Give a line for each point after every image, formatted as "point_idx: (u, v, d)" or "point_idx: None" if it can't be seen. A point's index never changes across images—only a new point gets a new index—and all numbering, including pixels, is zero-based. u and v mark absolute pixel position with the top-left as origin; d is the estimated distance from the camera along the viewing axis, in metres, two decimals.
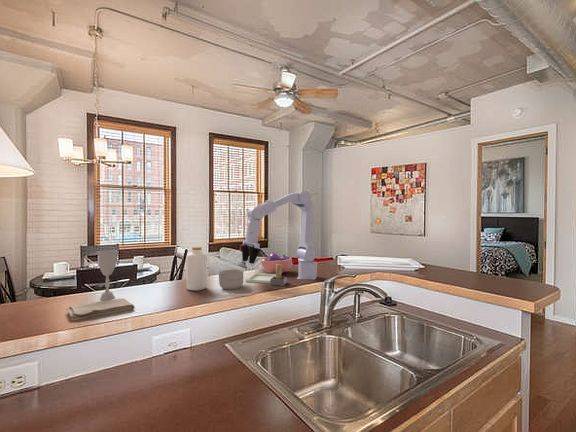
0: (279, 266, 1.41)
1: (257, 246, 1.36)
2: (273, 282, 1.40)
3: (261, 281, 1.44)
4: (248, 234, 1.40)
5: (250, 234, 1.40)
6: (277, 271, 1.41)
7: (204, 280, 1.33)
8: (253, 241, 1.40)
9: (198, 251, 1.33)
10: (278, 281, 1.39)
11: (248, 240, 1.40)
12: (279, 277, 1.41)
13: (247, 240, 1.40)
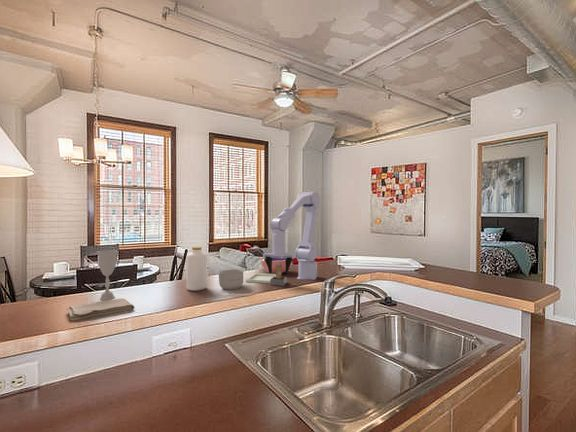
0: (279, 266, 1.41)
1: (294, 256, 1.41)
2: (273, 282, 1.40)
3: (261, 281, 1.44)
4: (280, 247, 1.40)
5: (282, 246, 1.40)
6: (277, 271, 1.41)
7: (204, 280, 1.33)
8: (284, 252, 1.41)
9: (198, 251, 1.33)
10: (278, 281, 1.39)
11: (281, 252, 1.40)
12: (279, 277, 1.41)
13: (280, 253, 1.40)
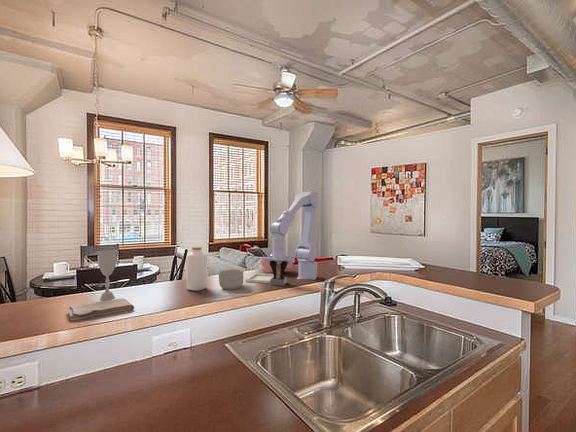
0: (279, 266, 1.41)
1: (294, 260, 1.41)
2: (273, 282, 1.40)
3: (261, 281, 1.44)
4: (280, 251, 1.40)
5: (282, 250, 1.40)
6: (277, 271, 1.41)
7: (204, 280, 1.33)
8: (284, 256, 1.41)
9: (198, 251, 1.33)
10: (278, 281, 1.39)
11: (281, 257, 1.40)
12: (279, 277, 1.41)
13: (280, 257, 1.40)
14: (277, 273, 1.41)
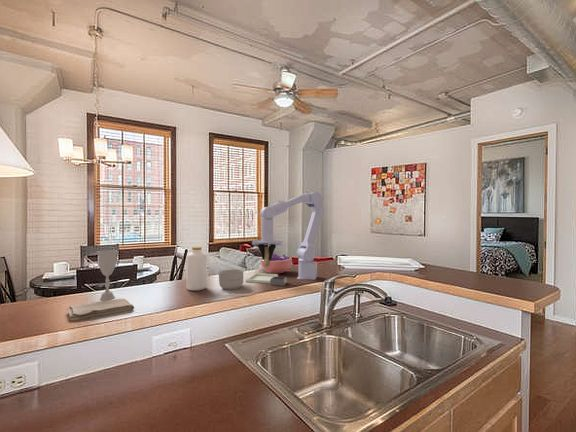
0: (268, 249, 1.48)
1: None
2: (273, 282, 1.40)
3: (261, 281, 1.44)
4: (268, 234, 1.46)
5: (270, 234, 1.47)
6: (266, 254, 1.48)
7: (204, 280, 1.33)
8: (272, 239, 1.48)
9: (198, 251, 1.33)
10: (278, 281, 1.39)
11: (269, 239, 1.47)
12: (268, 259, 1.48)
13: (268, 240, 1.46)
14: (266, 255, 1.48)
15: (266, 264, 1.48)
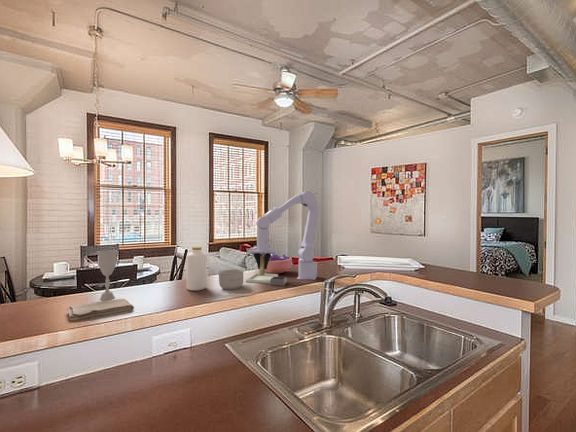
0: (263, 258, 1.51)
1: None
2: (273, 282, 1.40)
3: (261, 281, 1.44)
4: (263, 243, 1.49)
5: (265, 243, 1.50)
6: (261, 263, 1.51)
7: (204, 280, 1.33)
8: (268, 249, 1.51)
9: (198, 251, 1.33)
10: (278, 281, 1.39)
11: (264, 249, 1.50)
12: (263, 268, 1.51)
13: (263, 249, 1.49)
14: (261, 264, 1.51)
15: (261, 273, 1.51)
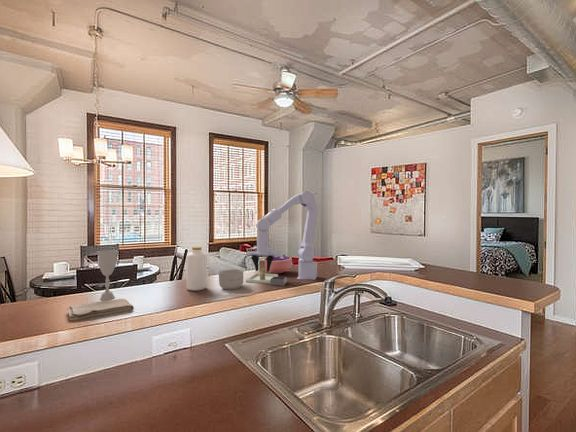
0: (262, 262, 1.51)
1: None
2: (273, 282, 1.40)
3: (261, 281, 1.44)
4: (263, 246, 1.49)
5: (265, 245, 1.50)
6: (261, 267, 1.51)
7: (204, 280, 1.33)
8: (268, 251, 1.51)
9: (198, 251, 1.33)
10: (278, 281, 1.39)
11: (264, 251, 1.50)
12: (263, 273, 1.51)
13: (263, 251, 1.49)
14: (261, 269, 1.51)
15: (261, 277, 1.51)
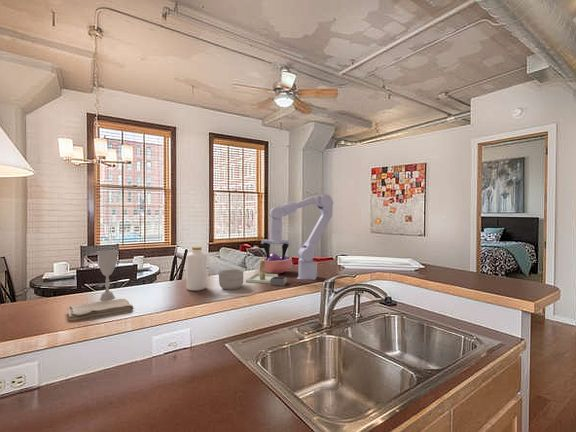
0: (263, 262, 1.51)
1: (290, 243, 1.52)
2: (273, 282, 1.40)
3: (261, 281, 1.44)
4: (277, 233, 1.51)
5: (279, 233, 1.51)
6: (261, 267, 1.51)
7: (204, 280, 1.33)
8: (281, 239, 1.53)
9: (198, 251, 1.33)
10: (278, 281, 1.39)
11: (278, 239, 1.51)
12: (263, 273, 1.51)
13: (277, 239, 1.51)
14: (261, 269, 1.51)
15: (261, 277, 1.51)
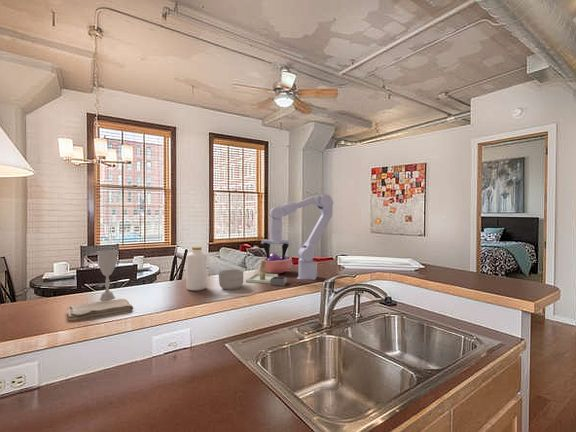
0: (263, 262, 1.51)
1: (290, 243, 1.52)
2: (273, 282, 1.40)
3: (261, 281, 1.44)
4: (277, 233, 1.51)
5: (279, 233, 1.51)
6: (261, 267, 1.51)
7: (204, 280, 1.33)
8: (281, 239, 1.53)
9: (198, 251, 1.33)
10: (278, 281, 1.39)
11: (278, 239, 1.51)
12: (263, 273, 1.51)
13: (277, 239, 1.51)
14: (261, 269, 1.51)
15: (261, 277, 1.51)
